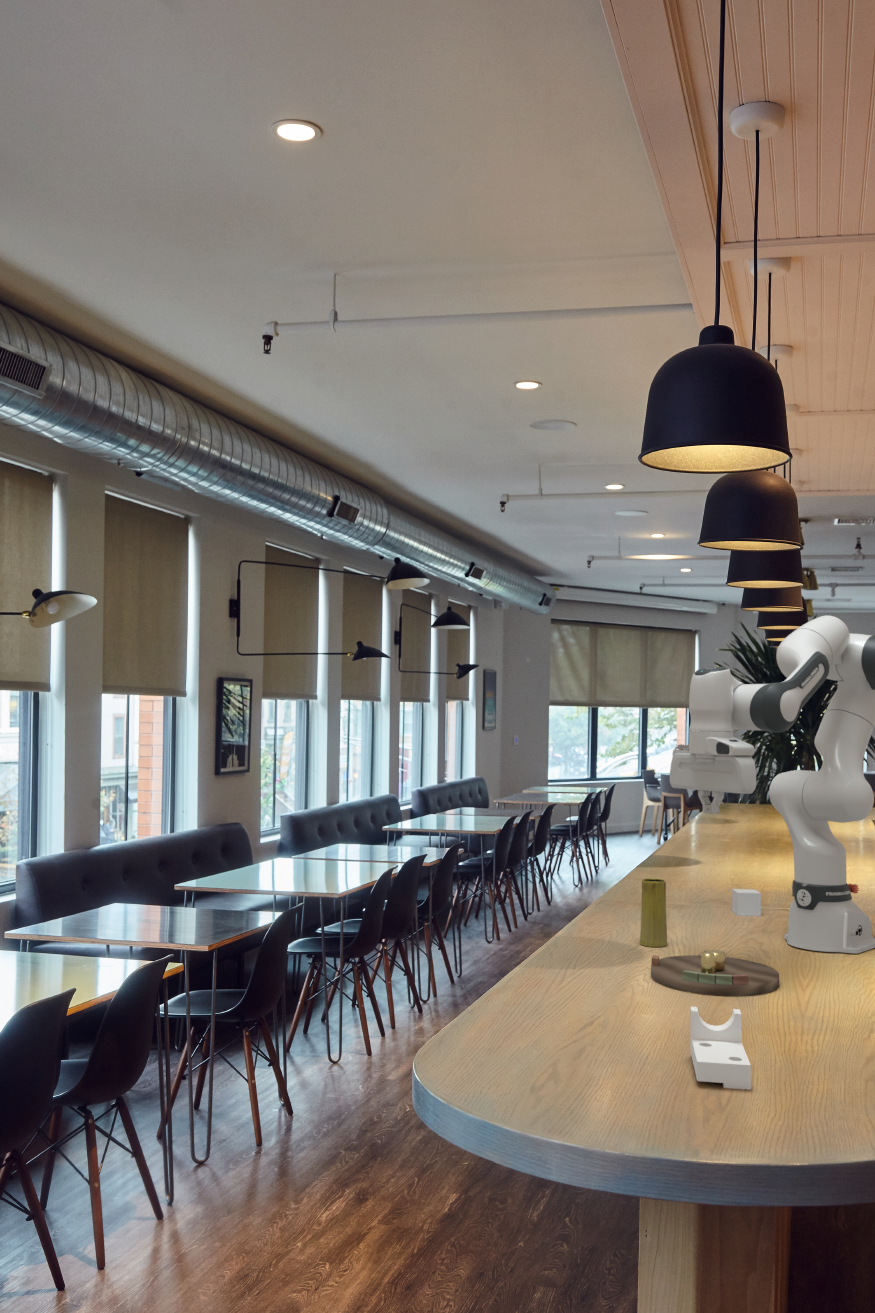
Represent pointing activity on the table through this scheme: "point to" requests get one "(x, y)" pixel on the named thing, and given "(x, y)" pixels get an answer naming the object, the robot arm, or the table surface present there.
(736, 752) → the robot arm
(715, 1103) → the table surface
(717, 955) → the brass dumbbell
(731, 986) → the dial base
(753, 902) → the light grey cube
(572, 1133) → the table surface
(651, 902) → the vase
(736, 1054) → the bracket
